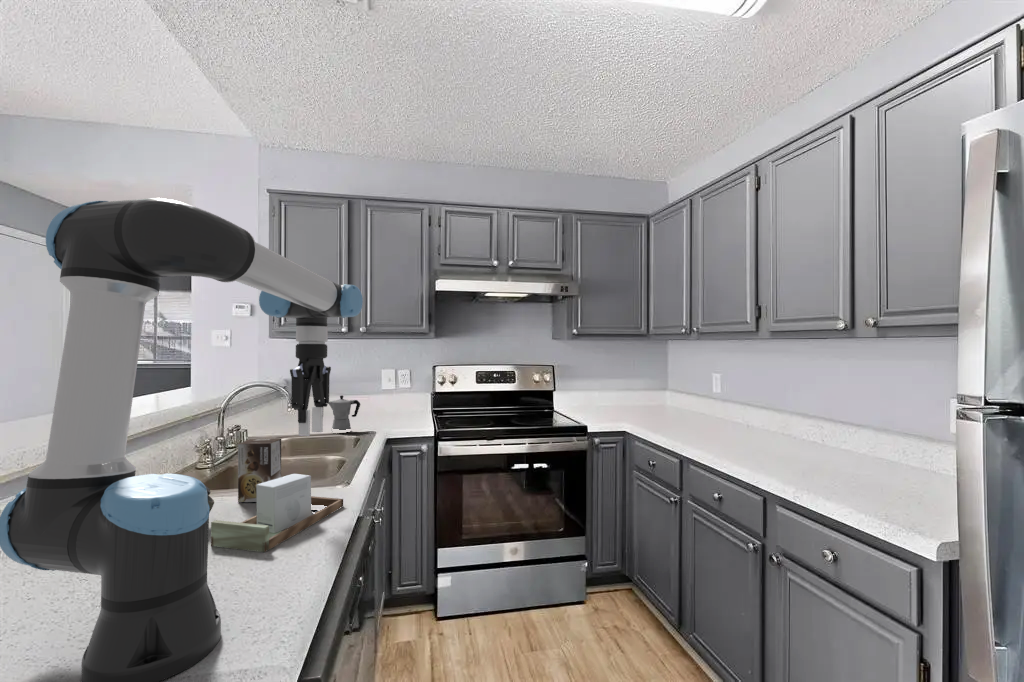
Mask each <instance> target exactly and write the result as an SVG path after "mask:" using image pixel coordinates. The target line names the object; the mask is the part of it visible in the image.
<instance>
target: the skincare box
mask: <svg viewBox="0 0 1024 682" xmlns="http://www.w3.org/2000/svg"><path fill="white" fill-rule="evenodd" d="M256 494H257V503H256V515H257V524H258V525H268V526H269V532H271V533H277V532H279V531H284V530H285V529H287V528H289V527H291V526H293V525H295V524H296V523H298V522H300V521H302V520H304V519H305V518H307V517H309V516H311V515H312V514H311V513H312V512H311V496H312V476H311V475H308V474H300V473H291V474H287V475H285V476H281V477H280V478H277V479H274V480H270V481H267V482H263V483H260V484H257V485H256Z"/></svg>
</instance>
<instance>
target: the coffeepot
mask: <svg viewBox="0 0 1024 682" xmlns="http://www.w3.org/2000/svg"><path fill="white" fill-rule="evenodd" d="M339 397H340V399H337V400H332V401H329V403H327V404H328V405H329V406H330V408H331V410H332V414H333V416H334V417H333V420H332V426H331V429H332V428H333V429H339V430H346V429H351V430H352V427H351V423H350V421H351V420H350V418H349V415H350V414H351V408H352V405H356V406H355V410H354V414H351V417H352V418H355V417H357V415H358V412H359V409H360V408H361V403H360V401H358V400H357V399H354V400H353V399H351V400H348V399H344V395H339Z"/></svg>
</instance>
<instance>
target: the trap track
mask: <svg viewBox="0 0 1024 682" xmlns="http://www.w3.org/2000/svg"><path fill="white" fill-rule="evenodd" d="M311 504H312V505H324V506H327V507H325V508H324V509H322V510H320V511H318V512H316V513H315V514H313V515H311V516H309V517H307V518H305V519H304V520H302V521H300V522H298V523H296V524H295V525H293V526H291V527H289V528H286V529H284V530H282V531H279V532H277V533H271V532H269V526H268V525H258V524H257V514H256V515H254V516H252V517H249V518H248V519H245V520H244V521H241V522H239V521H229V520H218V519H215V520H213V521H211V523H210V547H214V548H215V547H216V546H217V548H223V547H224V548H226V549H233V550H243V551H249V552H250V551H251V552H257V553H266V552H268V551H270V550H272V549H273V548H275V547H277V546H278V545H280V544H282V543H283V542H285V541H286V540H288V539H290V538H292V537H294V536H296V535H297V534H299V533H300V532H302V531H303V530H305V529H307V528H309V527H311V526H312V525H314V524H316V523H317V521H318V522H320V521H321V520H323V519H325V518H326V517H328V516H330V515H331V514H333V513H334V511H335V512H336V510H337V509H338V510H340V509H341V508H340V507H342V506H343V507H344V498H337V497H323V496H314V495H313V496H312V495H311ZM343 507H342V508H343ZM339 508H340V509H339ZM338 510H337V511H338ZM332 512H333V513H332ZM329 514H330V515H329ZM327 515H328V516H327ZM322 518H323V519H322Z"/></svg>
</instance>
